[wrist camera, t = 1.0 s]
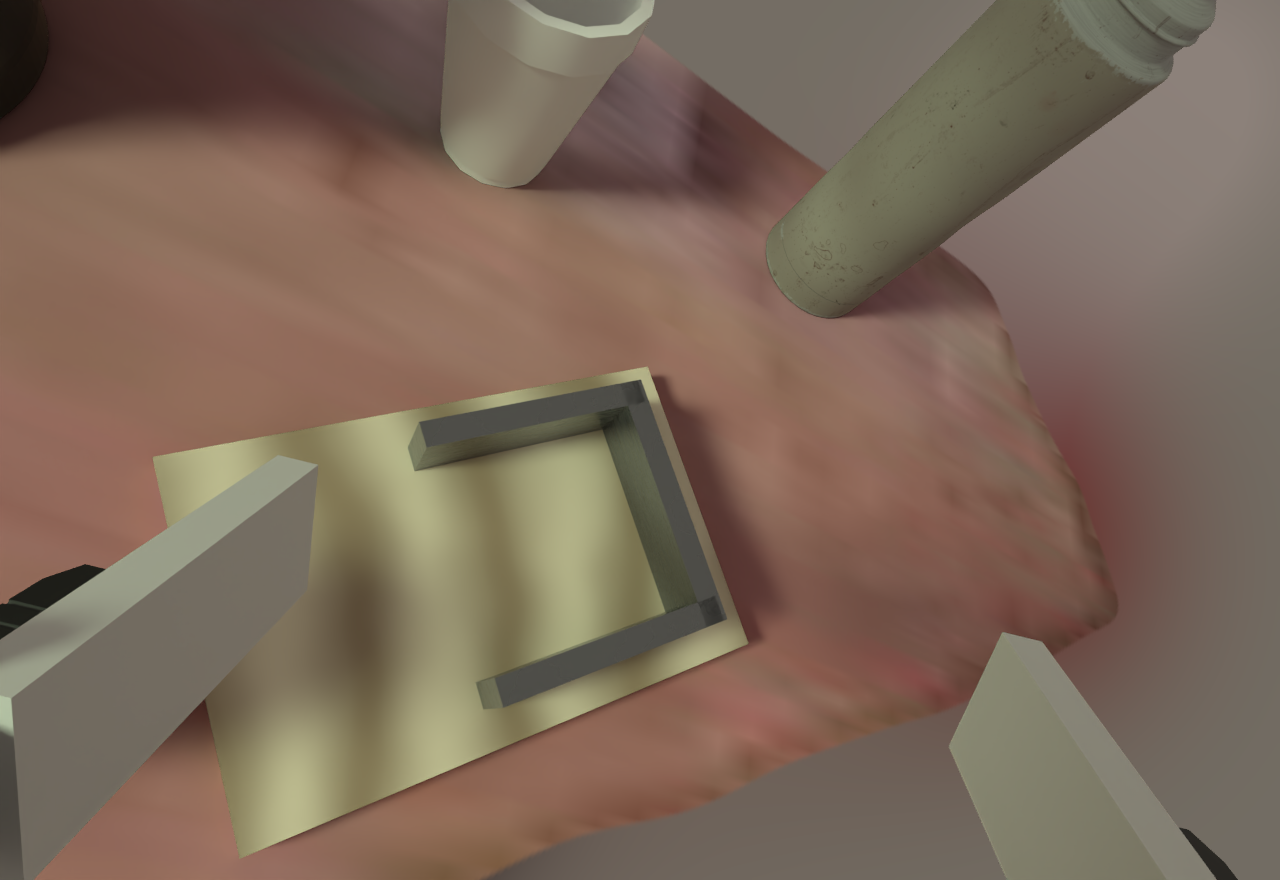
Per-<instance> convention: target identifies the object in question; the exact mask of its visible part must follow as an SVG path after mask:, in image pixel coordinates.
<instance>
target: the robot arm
mask: <svg viewBox="0 0 1280 880" xmlns="http://www.w3.org/2000/svg"><path fill="white" fill-rule="evenodd" d="M48 42H49V37H48V26H47V20H46V17H45V13H44V10H43V7H42V4H41V1H40V0H0V118H2V117H3V116H4V115H6V114H7V113H8V112H10V111H11V110H12V109H13V108H14V107H16V106H17V105H18V104H19V103H20V102H21V101H22V100H23V99H24V98H25V97H26V95H27V94H28V93H29V92H30V90H31V89H32V88H33V86H34V85H35V83H36V81H37V80H38V78H39V76H40V74H41V72H42V70H43V67H44V64H45V61H46V57H47V52H48ZM317 475H318V465H317V464H313V463H309V462H305V461H301V460H297V459H293V458H288V457H284V456H280V455H277V456H276V457H274V458H273V459H271V460H270V461H268V462H267V463H265V464H264V465H262V466H261V467H259V468H258V469H256V470H255V471H253V472H252V473H250V474H249V475H247V476H246V477H244V478H243V479H241V480H240V481H238V482H237V483H235V484H234V485H232V486H231V487H229V488H228V489H226V490H225V491H223V492H222V493H220V494H219V495H217V496H216V497H214V498H213V499H211V500H210V501H208V502H207V503H205V504H204V505H202V506H201V507H199V508H198V509H196V510H195V511H193V512H192V513H190V514H189V515H187V516H186V517H184V518H183V519H181V520H180V521H178V522H177V523H175V524H174V525H172V526H171V527H169V528H168V529H166V530H165V531H163V532H161V533H160V534H158V535H157V536H155V537H154V538H152V539H151V540H149V541H148V542H146V543H145V544H143V545H142V546H140V547H139V548H137V549H136V550H134V551H133V552H131V553H130V554H128V555H127V556H125V557H124V558H122V559H121V560H119V561H118V562H116V563H115V564H113V565H112V566H110V567H109V568H107V569H103V568H98V567H94V566H90V565H86V564H85V565H82V566H79V567H76V568H73V569H70V570H67V571H64V572H61V573H58V574H55V575H52V576H49V577H46V578H43V579H41V580H40V581H38V582H37V583H35V584H33V585H32V586H30V587H28V588H27V589H25V590H24V591H22V592H20V593H19V594H17V595H15V596H14V597H12V598H11V599H9V602H8V603H7V604H3V603H2V604H1V605H0V880H34V879H35V878H36V876H37V875H38V874H39V873H40V872H41V871H42V870H43V869H44V868H45V867H46V866H47V865H48V864H49V863H50V862H51V861H52V860H53V858H54V857H55V856H56V855H57V854H58V853H59V852H60V851H61V850H62V849H63V848H64V847H65V846H66V845H67V844H68V843H69V842H70V840H71V839H72V838H73V837H74V836H75V835H76V834H77V833H78V832H79V831H80V830H81V829H82V828H83V827H84V826H85V825H86V824H87V823H88V821H89V820H90V819H91V818H92V817H93V816H94V815H95V814H96V813H97V812H98V811H99V810H100V809H101V808H102V807H103V806H104V805H105V803H106V802H107V801H108V800H109V799H110V798H111V797H112V796H113V795H114V794H115V793H116V792H117V791H118V790H119V789H120V788H121V787H122V785H123V784H124V783H125V782H126V781H127V780H128V779H129V778H130V777H131V776H132V775H133V774H134V773H135V772H136V771H137V770H138V769H139V768H140V766H141V765H142V764H143V763H144V762H145V761H146V760H147V759H148V758H149V757H150V756H151V755H152V754H153V753H154V752H155V751H156V750H157V748H158V747H159V746H160V745H161V744H162V743H163V742H164V741H165V740H166V739H167V738H168V737H169V736H170V735H171V734H172V733H173V732H174V730H175V729H176V728H177V727H178V726H179V725H180V724H181V723H182V722H183V721H184V720H185V719H186V718H187V717H188V716H189V715H190V714H191V713H192V711H193V710H194V709H195V708H196V707H197V706H198V705H199V704H200V703H201V702H202V701H203V700H204V699H205V698H206V697H207V696H208V695H209V693H210V692H211V691H212V690H213V689H214V688H215V687H216V686H217V685H218V684H219V683H220V682H221V681H222V680H223V679H224V678H225V677H226V675H227V674H228V673H229V672H230V671H231V670H232V669H233V668H234V667H235V666H236V665H237V664H238V663H239V662H240V661H241V660H242V659H243V658H244V656H245V655H246V654H247V653H248V652H249V651H250V650H251V649H252V648H253V647H254V646H255V645H256V644H257V643H258V642H259V641H260V640H261V638H262V637H263V636H264V635H265V634H266V633H267V632H268V631H269V630H270V629H271V628H272V627H273V626H274V625H275V624H276V623H277V622H278V620H279V619H280V618H281V617H282V616H283V615H284V614H285V613H286V612H287V611H288V610H289V609H290V608H291V607H292V606H293V605H294V604H295V603H296V601H297V600H298V599H299V598H300V597H301V596H302V595H303V594H304V593H305V592H306V591H307V585H308V574H309V563H310V552H311V541H312V530H313V519H314V508H315V497H316V486H317ZM949 748H950V751H951V753H952V755H953V758H954V760H955V762H956V765H957V767H958V769H959V771H960V774H961V776H962V778H963V781H964V783H965V785H966V788H967V790H968V792H969V794H970V797H971V799H972V801H973V804H974V806H975V808H976V811H977V813H978V815H979V817H980V820H981V822H982V824H983V826H984V829H985V831H986V833H987V836H988V838H989V840H990V843H991V845H992V847H993V849H994V852H995V854H996V856H997V859H998V861H999V863H1000V865H1001V867H1002V870H1003V872H1004V875H1005V877H1006V879H1007V880H1238V879H1237V878H1236V877H1235V876H1234V874H1233V873H1232V872H1231V870H1230V869H1229V868H1228V866H1227V865H1226V864H1225V863H1224V862H1223V861H1222V860H1221V859H1220V858H1219V857H1218V856H1217V855H1216V854H1215V853H1213V852H1212V851H1211V850H1210V849H1209V848H1208V847H1207V846H1206V845H1205V844H1204V843H1202V842H1201V841H1200V840H1199V839H1198V838H1197V837H1196V836H1195V835H1194V834H1193V833H1191V831H1189V830H1187V829H1183V828H1179V827H1178V826H1177V825H1176V823H1175V822H1174V821H1173V820H1172V818H1171V817H1170V816H1169V814H1168V813H1167V811H1166V810H1165V808H1164V807H1163V806H1162V804H1161V803H1160V802H1159V800H1158V799H1157V798H1156V797H1155V795H1154V793H1153V792H1152V791H1151V789H1150V788H1149V787H1148V785H1147V784H1146V783H1145V781H1144V780H1143V779H1142V777H1141V776H1140V774H1139V773H1138V772H1137V770H1136V769H1135V768H1134V766H1133V765H1132V764H1131V762H1130V761H1129V759H1128V758H1127V757H1126V755H1125V754H1124V753H1123V751H1122V750H1121V749H1120V747H1119V746H1118V744H1117V743H1116V742H1115V740H1114V739H1113V738H1112V736H1111V735H1110V734H1109V732H1108V731H1107V729H1106V728H1105V727H1104V725H1103V724H1102V723H1101V721H1100V720H1099V719H1098V717H1097V716H1096V715H1095V713H1094V712H1093V710H1092V709H1091V708H1090V706H1089V705H1088V704H1087V702H1086V701H1085V699H1084V698H1083V697H1082V695H1081V694H1080V693H1079V691H1078V690H1077V689H1076V687H1075V686H1074V685H1073V683H1072V682H1071V681H1070V679H1069V678H1068V676H1067V675H1066V674H1065V672H1064V671H1063V670H1062V668H1061V667H1060V665H1059V664H1058V663H1057V661H1056V660H1055V659H1054V657H1053V656H1052V655H1051V653H1050V652H1049V650H1048V649H1047V648H1046V646H1045V645H1044V644H1043V642H1041V641H1037V640H1033V639H1029V638H1025V637H1021V636H1017V635H1013V634H1009V633H1005V632H1002V634H1001V636H1000V638H999V640H998V642H997V644H996V647H995V649H994V651H993V653H992V655H991V657H990V659H989V661H988V664H987V666H986V668H985V670H984V672H983V674H982V676H981V678H980V681H979V683H978V685H977V687H976V689H975V691H974V693H973V695H972V698H971V700H970V702H969V704H968V706H967V708H966V710H965V712H964V715H963V717H962V719H961V721H960V723H959V725H958V727H957V730H956V732H955V734H954V736H953V738H952V740H951V742H950V744H949Z"/></svg>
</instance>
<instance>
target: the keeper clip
mask: <svg viewBox="0 0 1280 880" xmlns="http://www.w3.org/2000/svg"><path fill="white" fill-rule="evenodd" d="M598 430H603V433H604V436H605V439H606V442H607V444H608V447H609V450H610V453H611V456H612V459H613V462H614V465H615V468H616V471H617V473H618V476H619V479H620V482H621V485H622V488H623V491H624V494H625V497H626V499H627V502H628V505H629V508H630V511H631V514H632V517H633V520H634V523H635V526H636V528H637V531H638V534H639V537H640V540H641V543H642V546H643V549H644V552H645V555H646V557H647V560H648V563H649V566H650V569H651V572H652V575H653V578H654V581H655V583H656V586H657V589H658V592H659V595H660V598H661V601H662V604H663V607H664V610H665V612H664V613H661V614H658V615H656V616H653V617H650V618H648V619H645V620H642V621H640V622H637V623H634V624H632V625H629V626H626V627H623V628H621V629H618V630H615V631H613V632H610V633H607V634H605V635H602V636H599V637H597V638H594V639H591V640H588V641H586V642H583V643H580V644H578V645H575V646H572V647H570V648H567V649H564V650H562V651H559V652H556V653H553V654H551V655H548V656H545V657H543V658H540V659H537V660H535V661H532V662H529V663H527V664H524V665H521V666H518V667H516V668H513V669H510V670H508V671H505V672H502V673H500V674H497V675H494V676H492V677H489V678H486V679H483V680H481V681H478V682H476V686H477V689H478V693H479V696H480V699H481V703H482V706H483V709H495V708H504V707H507V706H509V705H512V704H514V703H517V702H519V701H522V700H524V699H527V698H529V697H532V696H535V695H537V694H540V693H542V692H545V691H547V690H550V689H552V688H555V687H557V686H560V685H562V684H565V683H567V682H570V681H572V680H575V679H578V678H580V677H583V676H585V675H588V674H590V673H593V672H595V671H598V670H600V669H603V668H605V667H608V666H610V665H613V664H615V663H618V662H620V661H623V660H626V659H628V658H631V657H633V656H636V655H638V654H641V653H643V652H646V651H648V650H651V649H653V648H656V647H658V646H661V645H663V644H666V643H668V642H671V641H674V640H676V639H679V638H681V637H684V636H686V635H689V634H691V633H694V632H696V631H699V630H701V629H704V628H706V627H709V626H711V625H714V624H717V623H719V622H722V621H724V620H727V616H726V614H725V611H724V608H723V605H722V603H721V600H720V597H719V594H718V591H717V589H716V586H715V583H714V580H713V578H712V575H711V572H710V569H709V567H708V564H707V561H706V558H705V555H704V553H703V550H702V547H701V544H700V542H699V539H698V536H697V533H696V531H695V528H694V525H693V522H692V519H691V517H690V514H689V511H688V508H687V506H686V503H685V500H684V497H683V495H682V492H681V489H680V486H679V483H678V481H677V478H676V475H675V472H674V470H673V467H672V464H671V461H670V459H669V456H668V453H667V450H666V447H665V445H664V442H663V439H662V436H661V434H660V431H659V428H658V425H657V423H656V420H655V417H654V414H653V411H652V409H651V406H650V403H649V400H648V398H647V395H646V392H645V389H644V387H643V384H642V381H641V379H640V380H635V381H630V382H625V383H620V384H614V385H609V386H604V387H599V388H593V389H588V390H583V391H578V392H572V393H567V394H562V395H557V396H551V397H546V398H541V399H536V400H531V401H525V402H520V403H515V404H510V405H504V406H499V407H494V408H489V409H483V410H478V411H473V412H468V413H463V414H457V415H452V416H447V417H442V418H436V419H431V420H426V421H421V422H419V423H418V425H417V428H416V430H415V432H414V434H413V437H412V439H411V441H410V443H409V446H408V450H409V454H410V457H411V461H412V464H413V468H414V471H418V470H422V469H427V468H431V467H436V466H440V465H445V464H449V463H454V462H458V461H463V460H467V459H472V458H476V457H481V456H485V455H490V454H494V453H499V452H503V451H508V450H512V449H517V448H521V447H526V446H530V445H535V444H539V443H544V442H548V441H553V440H557V439H562V438H566V437H571V436H575V435H580V434H584V433H589V432H593V431H598Z"/></svg>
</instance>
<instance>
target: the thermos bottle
mask: <svg viewBox="0 0 1280 880" xmlns="http://www.w3.org/2000/svg"><path fill="white" fill-rule="evenodd" d="M1215 9H1216V0H996V1H995V2H994V3H993V4H992V5H991V6H990V7H989V8H988V9H987V10H986V11H985V13H984V14H983V15H982V16H981V17H980V18H979V19H978V20H977V21H976V22H975V23H974V24H973V25H972V26H971V27H970V28H969V29H968V30H967V31H966V32H965V33H964V34H963V35H962V36H961V37H960V38H959V39H958V40H957V41H956V42H955V43H954V44H953V45H952V46H951V47H950V48H949V49H948V50H947V51H946V52H945V53H944V55H942V56H941V57H940V58H939V59H938V60H937V61H936V62H935V64H933V66H931V68H929V69H928V71H927V72H926V73H925V74H924V75H923V76H922V77H921V78H920V79H919V80H918V81H917V82H916V83H915V84H914V85H913V86H912V87H911V88H910V89H909V90H908V91H907V92H906V93H905V94H904V95H903V96H902V97H901V98H900V99H899V100H898V101H897V102H896V103H895V104H894V105H893V106H892V107H891V108H890V109H889V110H888V111H887V112H886V114H885V115H883V116H882V117H881V118H880V119H879V121H877V122H876V124H875V125H874V126H873V127H872V128H871V129H870V130H869V131H868V132H867V133H866V134H865V135H864V136H863V137H862V139H860V140H859V142H858V143H857V144H856V145H855V146H854V147H853V148H852V149H851V150H850V151H849V152H848V153H847V154H846V155H845V156H844V157H843V158H842V159H841V160H840V161H839V162H838V163H837V164H836V165H835V166H834V167H833V168H832V169H830V170H829V171H828V172H827V173H826V174H825V175H824V176H823V177H822V178H821V179H820V180H819V181H818V182H817V184H816V185H815V186H814V187H813V188H812V189H811V190H810V191H809V192H808V193H807V194H806V195H805V196H804V197H803V198H802V199H801V200H800V201H799V202H798V203H797V204H796V205H795V206H794V207H793V208H792V209H791V210H790V211H789V212H788V213H787V214H786V215H785V216H784V217H783V218H782V219H781V220H780V221H779V222H778V223H777V224H776V225H775V226H774V227H773V229H772V230H771V232H770V234H769V236H768V240H767V243H766V257H767V263H768V266H769V269H770V272H771V275H772V277H773V279H774V280H775V282H776V284H777V285H778V287H779V288H780V290H781V291H782V292H783V293H784V295H785V296H786V297H787V298H788V299H789V300H790V301H791V302H793V303H794V304H795V305H796V306H798V307H799V308H801V309H802V310H804V311H806V312H808V313H810V314H813V315H815V316H818V317H824V318H835V317H839V316H842V315H845V314H846V313H848V312H849V311H851V310H852V309H854V308H855V307H857V306H858V305H859V304H861V303H862V302H863V301H865V300H866V299H868V298H869V297H870V296H872V295H873V294H874V293H876V292H877V291H878V290H880V289H881V288H882V287H884V286H885V285H886V284H888V283H889V282H890V281H892V280H893V279H894V278H896V277H897V276H899V275H900V274H901V273H903V272H904V271H906V270H907V269H908V268H910V267H911V266H912V265H914V264H915V263H917V262H918V261H919V260H921V259H922V258H923V257H925V256H926V255H928V254H929V253H930V252H932V251H933V250H934V249H936V248H937V247H938V246H940V245H941V244H942V243H943V242H945V241H946V240H947V239H948V238H949V237H951V236H952V235H953V234H954V233H956V232H957V231H958V230H959V229H961V228H962V227H963V226H965V225H966V224H967V223H969V222H970V221H972V220H973V219H975V218H976V217H978V216H979V215H980V214H982V213H983V212H985V211H986V210H988V209H989V208H991V207H992V206H994V205H995V204H997V203H998V202H1000V201H1001V200H1002V199H1004V198H1005V197H1007V196H1008V195H1009V194H1011V193H1012V192H1014V191H1015V190H1016V189H1018V188H1019V187H1020V186H1022V185H1023V184H1024V183H1026V182H1027V181H1029V180H1030V179H1031V178H1033V177H1034V176H1035V175H1037V174H1038V173H1040V172H1041V171H1042V170H1044V169H1045V168H1046V167H1048V166H1049V165H1050V164H1052V163H1053V162H1055V161H1056V160H1057V159H1059V158H1060V157H1061V156H1063V155H1064V154H1065V153H1067V152H1068V151H1069V150H1071V149H1072V148H1074V147H1075V146H1076V145H1078V144H1079V143H1080V142H1082V141H1083V140H1085V139H1086V138H1087V137H1089V136H1090V135H1091V134H1092V133H1094V132H1095V131H1097V130H1098V129H1100V128H1101V127H1102V126H1104V125H1105V124H1106V123H1108V122H1109V121H1111V120H1112V119H1113V118H1115V117H1116V116H1117V115H1119V114H1120V113H1121V112H1123V111H1124V110H1126V109H1127V108H1128V107H1130V106H1131V105H1132V104H1134V103H1135V102H1136V101H1138V100H1139V99H1141V98H1142V97H1143V96H1145V95H1146V94H1147V93H1149V92H1150V91H1151V90H1153V89H1154V88H1155V87H1157V86H1158V85H1160V84H1161V83H1162V82H1164V81H1165V80H1166V79H1167V78H1168V76H1169V74H1170V73H1171V71H1172V67H1173V55H1174V54H1175V53H1176V52H1178V51H1179V50H1180V49H1182V48H1183V47H1188V46H1191V45H1192V44H1194V43H1195V42H1196V41H1197V39H1198V38H1199V35H1200V34H1202V33H1203V32H1204V31H1205V30H1207V29H1208V28H1209V27H1210V26H1211V24H1212V23H1213V21H1214V17H1215Z"/></svg>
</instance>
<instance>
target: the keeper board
mask: <svg viewBox="0 0 1280 880" xmlns="http://www.w3.org/2000/svg"><path fill="white" fill-rule="evenodd" d="M640 379H641V381H642V384H643V387H644V389H645V392H646V395H647V398H648V400H649V403H650V406H651V409H652V411H653V414H654V417H655V420H656V423H657V425H658V428H659V431H660V434H661V436H662V439H663V442H664V445H665V447H666V450H667V453H668V456H669V459H670V461H671V464H672V467H673V470H674V472H675V475H676V478H677V481H678V483H679V486H680V489H681V492H682V495H683V497H684V500H685V503H686V506H687V508H688V511H689V514H690V517H691V519H692V522H693V525H694V528H695V531H696V533H697V536H698V539H699V542H700V544H701V547H702V550H703V553H704V555H705V558H706V561H707V564H708V567H709V569H710V572H711V575H712V578H713V580H714V583H715V586H716V589H717V591H718V594H719V597H720V600H721V603H722V605H723V608H724V611H725V614H726V616H727V620H724V621H722V622H719V623H717V624H714V625H711V626H709V627H706V628H704V629H701V630H699V631H696V632H694V633H691V634H689V635H686V636H684V637H681V638H679V639H676V640H674V641H671V642H668V643H666V644H663V645H661V646H658V647H656V648H653V649H651V650H648V651H646V652H643V653H641V654H638V655H636V656H633V657H631V658H628V659H626V660H623V661H620V662H618V663H615V664H613V665H610V666H608V667H605V668H603V669H600V670H598V671H595V672H593V673H590V674H588V675H585V676H583V677H580V678H578V679H575V680H572V681H570V682H567V683H565V684H562V685H560V686H557V687H555V688H552V689H550V690H547V691H545V692H542V693H540V694H537V695H535V696H532V697H529V698H527V699H524V700H522V701H519V702H517V703H514V704H512V705H509V706H507V707H504V708H495V709H483V706H482V703H481V699H480V696H479V693H478V689H477V686H476V682H478V681H481V680H483V679H486V678H489V677H492V676H494V675H497V674H500V673H502V672H505V671H508V670H510V669H513V668H516V667H518V666H521V665H524V664H527V663H529V662H532V661H535V660H537V659H540V658H543V657H545V656H548V655H551V654H553V653H556V652H559V651H562V650H564V649H567V648H570V647H572V646H575V645H578V644H580V643H583V642H586V641H588V640H591V639H594V638H597V637H599V636H602V635H605V634H607V633H610V632H613V631H615V630H618V629H621V628H623V627H626V626H629V625H632V624H634V623H637V622H640V621H642V620H645V619H648V618H650V617H653V616H656V615H658V614H661V613H664V612H665V610H664V607H663V604H662V601H661V598H660V595H659V592H658V589H657V586H656V583H655V581H654V578H653V575H652V572H651V569H650V566H649V563H648V560H647V557H646V555H645V552H644V549H643V546H642V543H641V540H640V537H639V534H638V531H637V528H636V526H635V523H634V520H633V517H632V514H631V511H630V508H629V505H628V502H627V499H626V497H625V494H624V491H623V488H622V485H621V482H620V479H619V476H618V473H617V471H616V468H615V465H614V462H613V459H612V456H611V453H610V450H609V447H608V444H607V442H606V439H605V436H604V433H603V430H598V431H593V432H589V433H584V434H580V435H575V436H571V437H566V438H562V439H557V440H553V441H548V442H544V443H539V444H535V445H530V446H526V447H521V448H517V449H512V450H508V451H503V452H499V453H494V454H490V455H485V456H481V457H476V458H472V459H467V460H463V461H458V462H454V463H449V464H445V465H440V466H436V467H431V468H427V469H422V470H418V471H414V468H413V464H412V461H411V457H410V454H409V450H408V446H409V443H410V441H411V439H412V437H413V434H414V432H415V430H416V428H417V425H418V423H419V422H421V421H426V420H431V419H436V418H442V417H447V416H452V415H457V414H463V413H468V412H473V411H478V410H483V409H489V408H494V407H499V406H504V405H510V404H515V403H520V402H525V401H531V400H536V399H541V398H546V397H551V396H557V395H562V394H567V393H572V392H578V391H583V390H588V389H593V388H599V387H604V386H609V385H614V384H620V383H625V382H630V381H635V380H640ZM277 455H280V456H284V457H288V458H293V459H297V460H301V461H305V462H309V463H313V464H317V465H318V475H317V486H316V497H315V508H314V519H313V530H312V541H311V552H310V563H309V574H308V585H307V591H306V592H305V593H304V594H303V595H302V596H301V597H300V598H299V599H298V600H297V601H296V603H295V604H294V605H293V606H292V607H291V608H290V609H289V610H288V611H287V612H286V613H285V614H284V615H283V616H282V617H281V618H280V619H279V620H278V622H277V623H276V624H275V625H274V626H273V627H272V628H271V629H270V630H269V631H268V632H267V633H266V634H265V635H264V636H263V637H262V638H261V640H260V641H259V642H258V643H257V644H256V645H255V646H254V647H253V648H252V649H251V650H250V651H249V652H248V653H247V654H246V655H245V656H244V658H243V659H242V660H241V661H240V662H239V663H238V664H237V665H236V666H235V667H234V668H233V669H232V670H231V671H230V672H229V673H228V674H227V675H226V677H225V678H224V679H223V680H222V681H221V682H220V683H219V684H218V685H217V686H216V687H215V688H214V689H213V690H212V691H211V692H210V693H209V695H208V696H207V697H206V698H205V701H206V706H207V711H208V715H209V720H210V724H211V729H212V734H213V738H214V743H215V747H216V752H217V757H218V761H219V766H220V770H221V775H222V780H223V784H224V789H225V793H226V798H227V803H228V807H229V812H230V816H231V821H232V826H233V830H234V835H235V840H236V844H237V849H238V853H239V858H242V857H245V856H247V855H250V854H252V853H254V852H257V851H259V850H261V849H264V848H266V847H269V846H271V845H273V844H276V843H278V842H280V841H283V840H285V839H287V838H290V837H292V836H295V835H297V834H299V833H302V832H304V831H306V830H309V829H311V828H313V827H316V826H318V825H321V824H323V823H325V822H328V821H330V820H332V819H335V818H337V817H340V816H342V815H344V814H347V813H349V812H351V811H354V810H356V809H358V808H361V807H363V806H366V805H368V804H370V803H373V802H375V801H377V800H380V799H382V798H385V797H387V796H389V795H392V794H394V793H396V792H399V791H401V790H403V789H406V788H408V787H411V786H413V785H415V784H418V783H420V782H422V781H425V780H427V779H430V778H432V777H434V776H437V775H439V774H441V773H444V772H446V771H448V770H451V769H453V768H456V767H458V766H460V765H463V764H465V763H467V762H470V761H472V760H474V759H477V758H479V757H482V756H484V755H486V754H489V753H491V752H493V751H496V750H498V749H501V748H503V747H505V746H508V745H510V744H512V743H515V742H517V741H519V740H522V739H524V738H527V737H529V736H531V735H534V734H536V733H538V732H541V731H543V730H546V729H548V728H550V727H553V726H555V725H557V724H560V723H562V722H564V721H567V720H569V719H572V718H574V717H576V716H579V715H581V714H583V713H586V712H588V711H591V710H593V709H595V708H598V707H600V706H602V705H605V704H607V703H609V702H612V701H614V700H617V699H619V698H621V697H624V696H626V695H628V694H631V693H633V692H635V691H638V690H640V689H643V688H645V687H647V686H650V685H652V684H654V683H657V682H659V681H662V680H664V679H666V678H669V677H671V676H673V675H676V674H678V673H680V672H683V671H685V670H688V669H690V668H692V667H695V666H697V665H699V664H702V663H704V662H707V661H709V660H711V659H714V658H716V657H718V656H721V655H723V654H725V653H728V652H730V651H733V650H735V649H737V648H740V647H742V646H744V645H747V644H749V643H748V641H747V638H746V635H745V632H744V630H743V627H742V624H741V622H740V619H739V616H738V613H737V611H736V608H735V605H734V602H733V600H732V597H731V594H730V591H729V589H728V586H727V583H726V580H725V578H724V575H723V572H722V569H721V567H720V564H719V561H718V558H717V556H716V553H715V550H714V547H713V545H712V542H711V539H710V536H709V534H708V531H707V528H706V525H705V523H704V520H703V517H702V514H701V512H700V509H699V506H698V503H697V501H696V498H695V495H694V493H693V490H692V487H691V484H690V482H689V479H688V476H687V473H686V471H685V468H684V465H683V462H682V460H681V457H680V454H679V451H678V449H677V446H676V443H675V440H674V438H673V435H672V432H671V429H670V427H669V424H668V421H667V418H666V416H665V413H664V410H663V407H662V405H661V402H660V399H659V396H658V394H657V391H656V388H655V385H654V383H653V380H652V377H651V375H650V372H649V369H648V367H643V368H638V369H632V370H627V371H621V372H616V373H610V374H605V375H599V376H594V377H588V378H583V379H577V380H572V381H566V382H561V383H556V384H550V385H545V386H539V387H534V388H528V389H523V390H517V391H512V392H506V393H501V394H495V395H490V396H484V397H479V398H473V399H468V400H462V401H457V402H451V403H446V404H440V405H435V406H430V407H424V408H419V409H413V410H408V411H402V412H397V413H391V414H386V415H380V416H375V417H369V418H364V419H358V420H353V421H347V422H342V423H336V424H331V425H325V426H320V427H314V428H309V429H304V430H298V431H293V432H287V433H282V434H276V435H271V436H265V437H260V438H254V439H249V440H243V441H238V442H232V443H227V444H221V445H216V446H210V447H205V448H199V449H194V450H188V451H183V452H177V453H172V454H167V455H161V456H156V457H153V462H154V467H155V471H156V476H157V480H158V485H159V490H160V494H161V499H162V503H163V508H164V513H165V517H166V522H167V526H168V528H169V527H171V526H172V525H174V524H175V523H177V522H178V521H180V520H181V519H183V518H184V517H186V516H187V515H189V514H190V513H192V512H193V511H195V510H196V509H198V508H199V507H201V506H202V505H204V504H205V503H207V502H208V501H210V500H211V499H213V498H214V497H216V496H217V495H219V494H220V493H222V492H223V491H225V490H226V489H228V488H229V487H231V486H232V485H234V484H235V483H237V482H238V481H240V480H241V479H243V478H244V477H246V476H247V475H249V474H250V473H252V472H253V471H255V470H256V469H258V468H259V467H261V466H262V465H264V464H265V463H267V462H268V461H270V460H271V459H273V458H274V457H276V456H277Z"/></svg>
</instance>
